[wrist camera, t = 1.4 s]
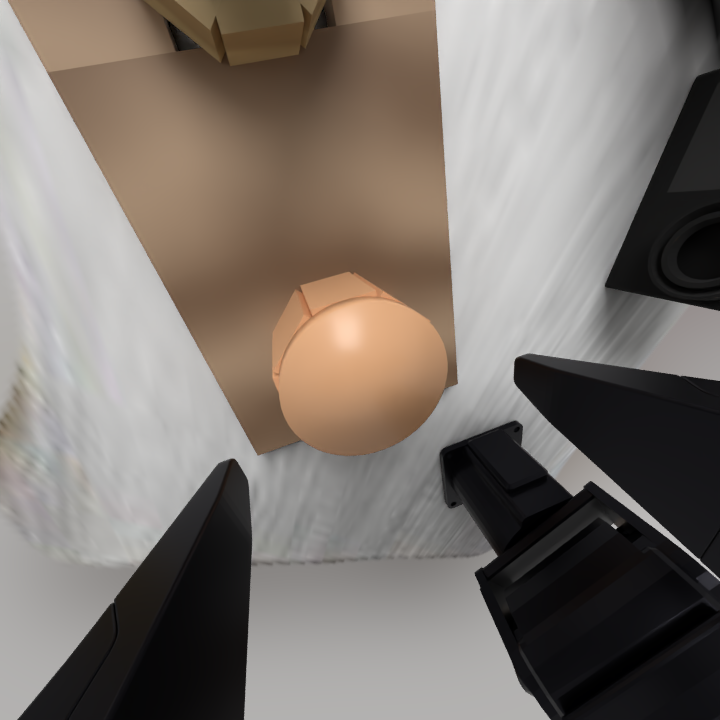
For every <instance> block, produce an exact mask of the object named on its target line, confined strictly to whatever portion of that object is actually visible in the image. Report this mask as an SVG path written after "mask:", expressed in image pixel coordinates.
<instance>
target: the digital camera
mask: <svg viewBox="0 0 720 720" xmlns="http://www.w3.org/2000/svg"><path fill="white" fill-rule="evenodd" d="M605 287H608V288H613V289H618V290H622V291H627V292H632V293H636V294H641V295H646V296H651V297H656V298H661V299H665V300H670V301H675V302H680V303H685V304H689V305H694V306H699V307H704V308H708V309H714V310H718V311H720V69H717V70H714V71H711V72H708V73H705V74H702V75H699V76H698V77H697V78H696V80H695V83H694V85H693V87H692V89H691V91H690V94H689V96H688V98H687V100H686V103H685V105H684V107H683V109H682V112H681V114H680V116H679V118H678V121H677V123H676V125H675V127H674V130H673V132H672V134H671V136H670V139H669V141H668V143H667V145H666V148H665V150H664V152H663V154H662V157H661V159H660V161H659V163H658V166H657V168H656V170H655V172H654V175H653V177H652V179H651V181H650V184H649V186H648V188H647V190H646V193H645V195H644V197H643V199H642V202H641V204H640V206H639V208H638V211H637V213H636V215H635V217H634V220H633V222H632V224H631V227H630V229H629V231H628V233H627V236H626V238H625V240H624V243H623V245H622V247H621V250H620V252H619V254H618V257H617V259H616V261H615V264H614V266H613V268H612V270H611V273H610V275H609V277H608V280H607V282H606V284H605Z"/></svg>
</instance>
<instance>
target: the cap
mask: <svg viewBox="0 0 720 720" xmlns="http://www.w3.org/2000/svg"><path fill="white" fill-rule="evenodd" d="M300 287H301V290H302V293H301V292H299V291H297V290H296V289H295V291H294V293H293V295H292V297H291V298H290V300H289V302H288V304H287V306H286V308H285V310H284V312H283V314H282V316H281V317H280V319H279V321H278V323H277V325H276V327H275V329H274V331H273V338H272V377H273V381H274V383H275V386H276V388H277V390H278V392H279V399H280V405H281V409H282V412H283V415H284V418H285V420H286V421H287V423H288V425H289V427H290V428H291V429H292V430H293V432H294V433H295V434H296V435H297V436H298V437H299V438H300V439H301V440H302V441H304V442H305V443H307V444H308V445H310V446H312V447H314V448H316V449H318V450H320V451H323V452H326V453H330V454H335V455H343V456H357V455H365V454H370V453H374V452H377V451H381V450H384V449H386V448H388V447H391V446H393V445H395V444H397V443H399V442H400V441H402V440H404V439H405V438H407V437H408V436H409V435H411V434H412V433H413V432H414V431H416V430H417V429H418V428H419V427H420V426H421V425H422V424H423V423H424V422H425V421H426V420H427V418H428V417H429V416H430V415H431V413H432V412H433V410H434V409H435V407H436V406H437V404H438V402H439V400H440V398H441V396H442V393H443V391H444V387H445V384H446V379H447V372H448V361H447V354H446V350H445V347H444V343H443V341H442V339H441V337H440V335H439V333H438V332H437V331H436V329H435V328H434V326H433V325H432V324H431V323H430V322H431V321H430V320H429V319H427V318H425V317H424V316H422V315H421V314H419V313H418V312H416V311H415V310H413V309H412V308H410V307H408V306H407V305H405V304H404V303H402V302H401V301H399V300H398V299H396V298H394V297H393V296H391V295H390V294H388V293H387V292H385V291H383V290H382V289H380V288H379V287H377V286H375V285H374V284H372V283H371V282H369V281H367V280H366V279H364V278H363V277H361V276H359V275H358V274H356V273H355V272H354V274H351V273H350V272H346V273H342V274H339V275H335V276H332V277H328V278H325V279H321V280H317V281H314V282H310V283H307V284H303V285H300Z"/></svg>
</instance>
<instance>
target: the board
mask: <svg viewBox="0 0 720 720" xmlns="http://www.w3.org/2000/svg"><path fill="white" fill-rule="evenodd" d="M8 2H9V4H10V5H11V7H12V9H13V11H14V13H15V15H16V16H17V18H18V20H19V22H20V24H21V25H22V27H23V29H24V31H25V33H26V35H27V36H28V38H29V40H30V42H31V44H32V46H33V47H34V49H35V51H36V53H37V55H38V56H39V58H40V60H41V62H42V64H43V66H44V67H45V69H46V71H47V73H48V75H49V76H50V78H51V80H52V82H53V84H54V86H55V87H56V89H57V91H58V93H59V95H60V96H61V98H62V100H63V102H64V104H65V106H66V107H67V109H68V111H69V113H70V115H71V116H72V118H73V120H74V122H75V124H76V126H77V127H78V129H79V131H80V133H81V135H82V136H83V138H84V140H85V142H86V144H87V146H88V147H89V149H90V151H91V153H92V155H93V157H94V158H95V160H96V162H97V164H98V166H99V167H100V169H101V171H102V173H103V175H104V177H105V178H106V180H107V182H108V184H109V186H110V187H111V189H112V191H113V193H114V195H115V197H116V198H117V200H118V202H119V204H120V206H121V207H122V209H123V211H124V213H125V215H126V217H127V218H128V220H129V222H130V224H131V226H132V227H133V229H134V231H135V233H136V235H137V237H138V238H139V240H140V242H141V244H142V246H143V247H144V249H145V251H146V253H147V255H148V257H149V258H150V260H151V262H152V264H153V266H154V267H155V269H156V271H157V273H158V275H159V277H160V278H161V280H162V282H163V284H164V286H165V288H166V289H167V291H168V293H169V295H170V297H171V298H172V300H173V302H174V304H175V306H176V308H177V309H178V311H179V313H180V315H181V317H182V318H183V320H184V322H185V324H186V326H187V328H188V329H189V331H190V333H191V335H192V337H193V338H194V340H195V342H196V344H197V346H198V348H199V349H200V351H201V353H202V355H203V357H204V358H205V360H206V362H207V364H208V366H209V368H210V369H211V371H212V373H213V375H214V377H215V378H216V380H217V382H218V384H219V386H220V388H221V389H222V391H223V393H224V395H225V397H226V399H227V400H228V402H229V404H230V406H231V408H232V409H233V411H234V413H235V415H236V417H237V419H238V420H239V422H240V424H241V426H242V428H243V429H244V431H245V433H246V435H247V437H248V439H249V440H250V442H251V444H252V446H253V448H254V449H255V451H256V453H257V455H261V454H264V453H266V452H269V451H272V450H275V449H278V448H280V447H283V446H286V445H289V444H292V443H294V442H297V441H300V440H301V439H300V438H299V437H298V436H297V435H296V434H295V433H294V432H293V430H292V429H291V428H290V427H289V425H288V423H287V421H286V420H285V418H284V415H283V412H282V409H281V405H280V399H279V392H278V390H277V388H276V386H275V383H274V381H273V377H272V338H273V331H274V329H275V327H276V325H277V323H278V321H279V319H280V317H281V316H282V314H283V312H284V310H285V308H286V306H287V304H288V302H289V300H290V298H291V297H292V295H293V293H294V291H295V289H296V290H297V291H299V292H301V293H302V290H301V287H300V285H303V284H307V283H310V282H314V281H317V280H321V279H325V278H328V277H332V276H335V275H339V274H342V273H346V272H350V273H351V274H354V272H355V273H356V274H358V275H359V276H361V277H363V278H364V279H366V280H367V281H369V282H371V283H372V284H374V285H375V286H377V287H379V288H380V289H382V290H383V291H385V292H387V293H388V294H390V295H391V296H393V297H394V298H396V299H398V300H399V301H401V302H402V303H404V304H405V305H407V306H408V307H410V308H412V309H413V310H415V311H416V312H418V313H419V314H421V315H422V316H424V317H425V318H427V319H429V320H430V321H431V322H430V323H431V324H432V325H433V326H434V328H435V329H436V331H437V332H438V333H439V335H440V337H441V339H442V341H443V343H444V347H445V350H446V354H447V361H448V372H447V379H446V384H445V387H444V389H445V388H448V387H450V386H453V385H456V384H458V380H457V363H456V347H455V330H454V313H453V296H452V280H451V263H450V246H449V229H448V212H447V196H446V179H445V162H444V145H443V129H442V112H441V95H440V78H439V62H438V45H437V28H436V11H435V0H8ZM323 7H324V9H325V14H326V20H327V25H328V27H327V28H321V29H314V27H315V25H316V23H317V21H318V18H319V16H320V14H321V11H322V9H323ZM167 20H168V21H169V22H171V23H172V24H173V25H174V26H176V27H177V28H178V29H179V30H181V31H182V32H183V33H184V34H186V35H187V36H188V37H189V38H190V39H192V40H193V41H194V42H195V43H197V44H198V45H199V46H200V47H202V48H196V49H190V50H184V51H178V48H177V46H176V43H175V40H174V38H173V35H172V32H171V30H170V27H169V24H168V22H167Z"/></svg>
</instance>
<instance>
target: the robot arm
mask: <svg viewBox="0 0 720 720" xmlns="http://www.w3.org/2000/svg"><path fill="white" fill-rule="evenodd" d="M514 382H515V384H516V386H517V387H518V388H519V389H520V390H521V392H522V393H523V394H524V395H525V396H526V397H527V398H528V399H529V400H530V401H531V403H532V404H533V405H534V406H535V407H536V408H537V409H538V410H539V411H540V413H541V414H542V415H543V416H544V417H545V418H546V419H547V420H548V421H549V422H550V423H551V424H552V425H553V426H554V427H555V428H556V429H557V430H558V431H560V432H561V433H562V434H563V435H564V436H565V437H566V438H567V439H568V440H569V441H570V442H572V443H573V444H574V445H575V446H576V447H577V448H578V449H579V450H580V451H581V452H582V453H584V454H585V455H586V456H587V457H588V458H589V459H590V460H591V461H592V462H594V464H596V465H597V466H598V467H599V468H600V469H601V470H602V471H603V472H605V474H606V475H608V476H609V477H610V478H611V479H612V480H613V481H614V482H615V483H616V484H617V485H619V486H620V487H621V488H622V489H623V490H624V491H625V492H626V493H627V494H629V496H631V497H632V498H633V499H634V500H635V501H636V502H637V503H638V504H639V505H640V506H641V507H643V508H644V509H645V510H646V511H647V512H648V513H649V514H650V515H651V516H652V517H654V518H655V519H656V520H657V521H658V522H659V523H660V524H661V525H662V526H663V527H664V528H666V529H667V530H668V531H669V532H670V533H671V534H672V535H673V536H674V537H675V538H676V539H677V540H679V541H680V542H681V543H682V544H683V545H684V546H685V547H686V548H687V549H688V550H690V551H691V552H692V553H693V554H694V555H695V556H696V557H697V558H699V559H700V561H701V562H702V563H703V564H704V565H706V566H707V567H708V568H709V569H710V570H711V571H712V572H713V573H714V574H715V575H716V576H718V577H719V578H720V381H716V380H708V379H701V378H694V377H687V376H681V377H680V376H677V375H673V374H666V373H659V372H652V371H645V370H639V369H632V368H625V367H618V366H611V365H605V364H598V363H591V362H584V361H577V360H570V359H563V358H556V357H550V356H543V355H536V354H525V355H522V356H519V357H517V358H516V359H515V362H514ZM522 431H523V426H522V425H521V424H520V423H519V422H518V421H512V422H510V423H507V424H505V425H502V426H500V427H497V428H494V429H492V430H489V431H487V432H484V433H482V434H479V435H476V436H474V437H471V438H469V439H466V440H464V441H461V442H459V443H456V444H453V445H451V446H448V447H446V448H444V449H443V450H442V451H441V453H440V459H441V467H442V476H443V485H444V494H445V502H446V504H447V506H448V507H449V508H455V507H457V506H459V505H462V504H463V505H464V506H465V508H466V509H467V511H468V512H469V514H470V515H471V517H472V518H473V520H474V521H475V523H476V524H477V526H478V527H479V529H480V530H481V532H482V533H483V535H484V536H485V538H486V539H487V541H488V542H489V544H490V545H491V547H492V548H493V550H494V551H495V553H496V554H497V556H498V557H497V558H496V559H494V560H493V561H492V562H491V563H489V564H488V565H487V566H486V567H484V568H480V569H479V570H477V571H476V572H475V576H476V578H477V580H478V582H479V585H480V591H481V593H482V595H483V598H484V600H485V602H486V604H487V607H488V609H489V611H490V613H491V616H492V618H493V620H494V622H495V625H496V627H497V629H498V631H499V634H500V636H501V638H502V640H503V643H504V645H505V647H506V649H507V651H508V654H509V656H510V658H511V660H512V663H513V666H514V669H515V672H516V675H517V678H518V680H519V682H520V684H521V686H522V687H523V689H524V690H525V691H526V692H527V693H529V694H530V695H532V696H534V697H535V698H536V700H537V701H538V703H539V704H540V706H541V707H542V709H543V710H544V711H545V713H546V714H547V715H548V716H549V718H550V719H551V720H720V581H719V580H718V579H717V578H715V577H714V576H713V575H712V574H711V573H709V572H708V571H707V570H706V569H705V568H704V567H703V566H701V565H700V564H699V563H698V562H697V561H696V560H694V559H693V558H692V557H691V556H689V555H688V554H687V553H686V552H684V551H683V550H682V549H681V548H680V547H678V546H677V545H676V544H674V543H673V542H672V541H670V540H669V539H668V538H667V537H665V536H664V535H663V534H661V533H660V532H659V531H657V530H656V529H655V528H653V527H652V526H651V525H649V524H648V523H647V522H645V521H644V520H643V519H641V518H640V517H639V516H637V515H636V514H635V513H633V512H632V511H630V510H629V509H628V508H627V507H625V506H624V505H623V504H621V503H620V502H618V501H617V500H616V499H614V498H613V497H611V496H610V495H609V494H608V493H606V492H605V491H604V490H602V489H601V488H600V487H599V486H597V485H596V484H595V483H593V482H592V481H590V482H588V483H587V484H586V485H585V486H584V489H583V490H582V491H580V492H579V493H578V494H577V495H575V496H574V497H573V496H572V495H571V494H570V493H569V492H568V491H567V490H566V489H565V488H564V487H562V486H561V485H560V484H559V483H558V482H557V481H556V480H555V479H554V478H553V477H552V476H551V475H550V474H548V471H547V470H546V469H545V468H544V467H543V466H542V465H541V464H540V463H539V462H537V461H536V460H535V459H534V458H533V457H532V456H531V455H530V454H529V453H528V452H527V451H525V450H524V449H523V448H522V447H521V443H522ZM613 523H614V524H615V525H616V526H617V527H618V528H617V529H614V528H613V527H612V526H611V525H612V524H613ZM251 555H252V527H251V512H250V497H249V484H248V480H247V477H246V475H245V474H244V472H243V471H242V469H241V467H240V466H239V464H238V462H237V461H236V460H235V459H229V460H226V461H223V462H220V463H219V464H218V465H217V466H216V467H215V468H214V470H213V471H212V472H211V474H210V475H209V476H208V478H207V479H206V480H205V481H204V483H203V484H202V485H201V487H200V488H199V489H198V491H197V492H196V493H195V495H194V496H193V497H192V498H191V500H190V501H189V502H188V504H187V505H186V506H185V508H184V509H183V510H182V511H181V513H180V514H179V515H178V517H177V518H176V519H175V521H174V522H173V523H172V525H171V526H170V527H169V528H168V530H167V531H166V532H165V534H164V535H163V536H162V538H161V539H160V540H159V542H158V543H157V544H156V545H155V547H154V548H153V549H152V551H151V552H150V553H149V555H148V556H147V557H146V559H145V560H144V561H143V562H142V564H141V565H140V566H139V568H138V569H137V570H136V572H135V573H134V574H133V575H132V577H131V578H130V579H129V581H128V582H127V583H126V585H125V586H124V588H123V589H122V590H121V591H120V593H119V594H118V595H117V596H116V598H115V599H114V603H112V604H110V606H109V607H108V608H107V609H106V611H105V612H104V613H103V614H102V616H101V617H100V619H99V620H98V621H97V622H96V624H95V625H94V626H93V627H92V629H91V630H90V631H89V633H88V634H87V635H86V636H85V638H84V639H83V640H82V642H81V643H80V644H79V645H78V647H77V648H76V649H75V650H74V652H73V653H72V654H71V655H70V657H69V658H68V659H67V661H66V662H65V663H64V664H63V665H62V667H61V668H60V669H59V670H58V671H57V673H56V674H55V675H54V676H53V677H52V679H51V680H50V681H49V682H48V684H47V685H46V686H45V687H44V689H43V690H42V691H41V692H40V693H39V694H38V696H37V697H36V698H35V699H34V701H33V702H32V703H31V704H30V705H29V707H28V708H27V709H26V710H25V711H24V713H23V714H22V715H21V716H20V717H19V718H18V720H244V707H245V686H246V664H247V643H248V621H249V620H248V619H249V599H250V598H249V597H250V577H251Z"/></svg>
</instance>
